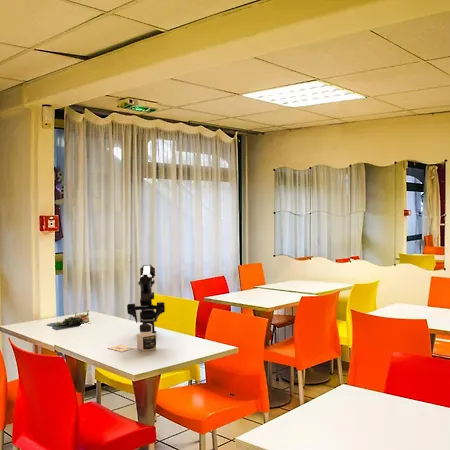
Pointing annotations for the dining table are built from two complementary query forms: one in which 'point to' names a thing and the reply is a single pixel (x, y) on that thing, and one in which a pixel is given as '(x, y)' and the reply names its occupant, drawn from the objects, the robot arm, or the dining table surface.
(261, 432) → the dining table surface
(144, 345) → the medicine bottle
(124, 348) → the envelope
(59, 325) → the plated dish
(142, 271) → the robot arm
